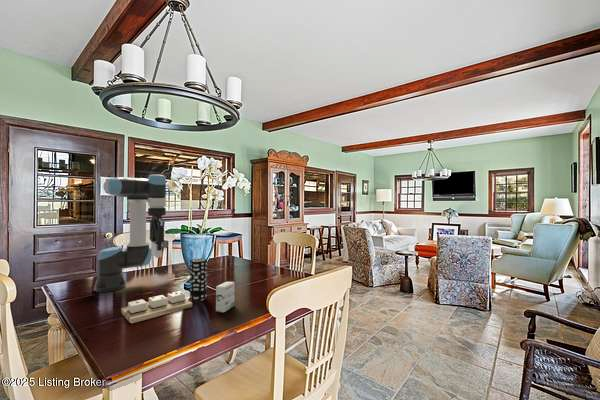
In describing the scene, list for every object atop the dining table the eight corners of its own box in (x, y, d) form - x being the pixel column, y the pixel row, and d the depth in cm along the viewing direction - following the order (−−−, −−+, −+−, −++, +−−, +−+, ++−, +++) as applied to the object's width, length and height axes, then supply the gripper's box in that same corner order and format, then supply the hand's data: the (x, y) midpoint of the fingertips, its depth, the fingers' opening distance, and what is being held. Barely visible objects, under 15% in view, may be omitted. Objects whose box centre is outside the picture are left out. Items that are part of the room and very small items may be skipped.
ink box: (226, 304, 136) (226, 280, 136) (235, 306, 134) (235, 281, 134) (215, 311, 128) (215, 285, 128) (224, 312, 126) (224, 287, 126)
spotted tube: (187, 298, 144) (187, 260, 144) (202, 294, 150) (202, 257, 150) (194, 302, 138) (194, 262, 139) (209, 298, 145) (210, 260, 145)
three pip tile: (167, 299, 135) (167, 293, 135) (180, 296, 140) (180, 290, 140) (172, 303, 131) (172, 296, 131) (184, 300, 135) (184, 293, 135)
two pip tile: (148, 304, 129) (148, 297, 129) (162, 301, 133) (162, 294, 134) (152, 308, 125) (152, 300, 125) (166, 304, 129) (166, 297, 129)
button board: (121, 312, 126) (121, 308, 126) (179, 298, 144) (179, 294, 144) (130, 323, 114) (130, 318, 114) (192, 306, 133) (192, 302, 133)
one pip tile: (127, 309, 123) (127, 302, 123) (142, 305, 127) (142, 298, 127) (131, 313, 119) (131, 305, 119) (146, 309, 123) (146, 302, 123)
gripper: (142, 207, 134) (142, 254, 134) (154, 207, 122) (154, 260, 122) (158, 206, 140) (158, 252, 140) (172, 207, 127) (171, 258, 127)
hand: (156, 256), depth 131 cm, fingers open, 5 cm apart
